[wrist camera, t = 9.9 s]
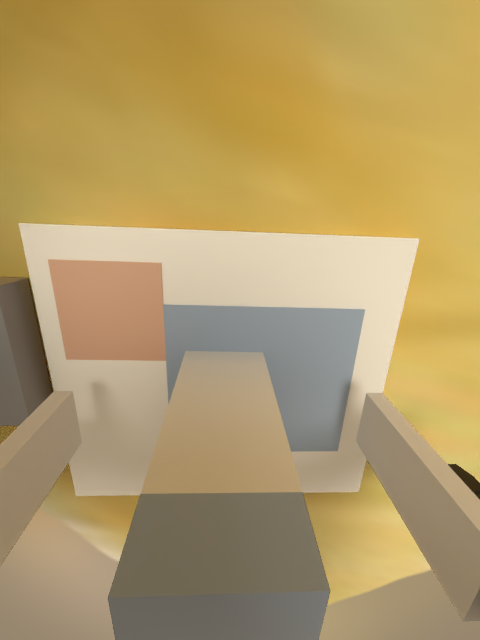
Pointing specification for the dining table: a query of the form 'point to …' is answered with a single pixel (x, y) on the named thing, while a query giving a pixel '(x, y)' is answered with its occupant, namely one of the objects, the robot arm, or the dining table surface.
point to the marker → (220, 518)
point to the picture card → (215, 334)
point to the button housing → (20, 354)
